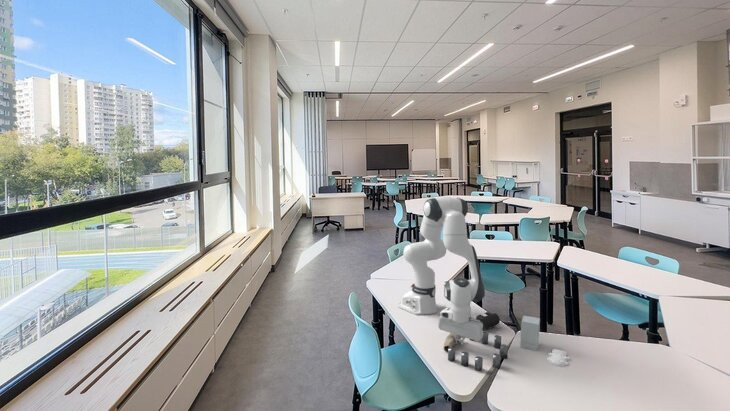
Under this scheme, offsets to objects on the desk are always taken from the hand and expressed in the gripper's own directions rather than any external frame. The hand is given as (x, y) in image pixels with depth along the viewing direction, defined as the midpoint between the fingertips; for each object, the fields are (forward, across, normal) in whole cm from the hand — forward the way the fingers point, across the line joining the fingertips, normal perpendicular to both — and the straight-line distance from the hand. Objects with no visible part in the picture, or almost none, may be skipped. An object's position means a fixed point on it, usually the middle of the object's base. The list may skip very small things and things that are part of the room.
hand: (459, 343), depth 173 cm
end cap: (+2, -3, -26) cm, 27 cm away
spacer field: (+2, -10, 0) cm, 11 cm away
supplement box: (+2, -25, -21) cm, 32 cm away
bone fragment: (+2, +4, 0) cm, 4 cm away
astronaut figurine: (+3, -38, -17) cm, 41 cm away
